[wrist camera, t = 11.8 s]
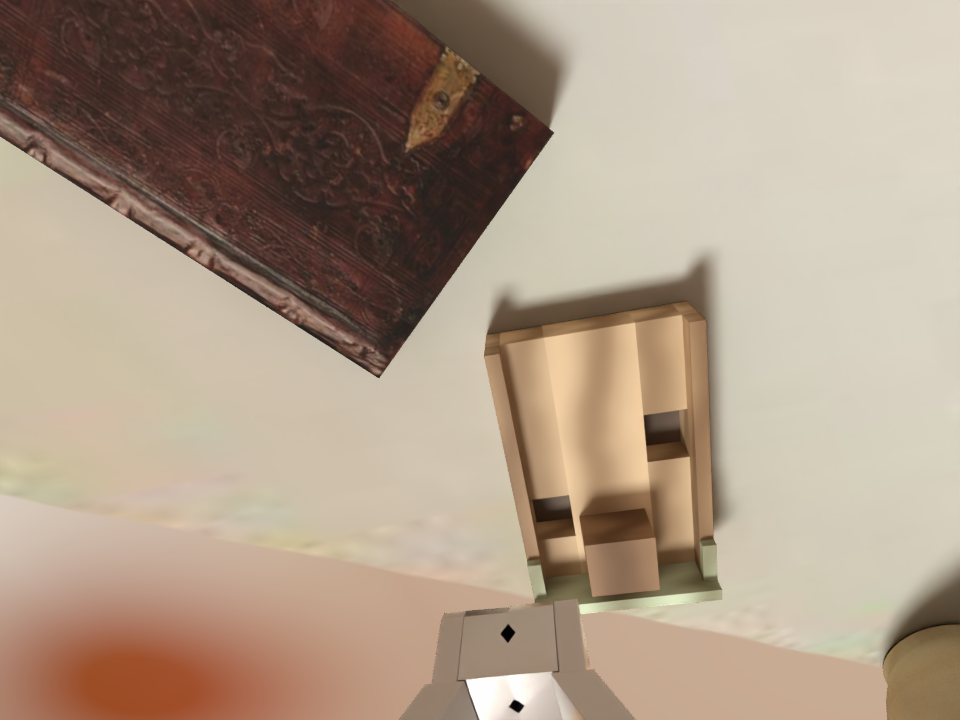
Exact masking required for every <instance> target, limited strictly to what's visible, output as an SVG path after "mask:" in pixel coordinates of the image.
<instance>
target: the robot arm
mask: <svg viewBox="0 0 960 720" xmlns="http://www.w3.org/2000/svg"><path fill="white" fill-rule="evenodd" d="M399 720H636V719H635V718H634V716H633V715H632V714H631V713H630V712H629V710H628V709H627V708H626V707H625V706H624V705H623V703H622V702H621V701H620V700H619V699H618V697H617V696H616V695H615V694H614V693H613V691H612V690H611V689H610V688H609V687H608V685H607V684H606V683H605V682H604V681H603V679H601V677H600V676H599V675H598V674H597V672H596V671H595V670H594V669H591V667H590V661H589V655H588V650H587V644H586V639H585V634H584V629H583V624H582V618H581V613H580V608H579V603H578V600H577V599H571V600H562V601H550V602H542V603H534V604H526V605H519V606H510V607H508V608H496V609H484V610H472V611H463V612H452V613H444V615H443V617H442V619H441V624H440V630H439V637H438V645H437V651H436V658H435V664H434V671H433V678H432V684H426V685H424V687H423V688H422V690H421V691H420V692H419V694H418V695H417V696H416V697H415V699H414V700H413V701H412V703H411V704H410V705H409V707H408V708H407V709H406V711H405V712H404V713H403V715H402V716H401V717H400V719H399Z"/></svg>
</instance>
